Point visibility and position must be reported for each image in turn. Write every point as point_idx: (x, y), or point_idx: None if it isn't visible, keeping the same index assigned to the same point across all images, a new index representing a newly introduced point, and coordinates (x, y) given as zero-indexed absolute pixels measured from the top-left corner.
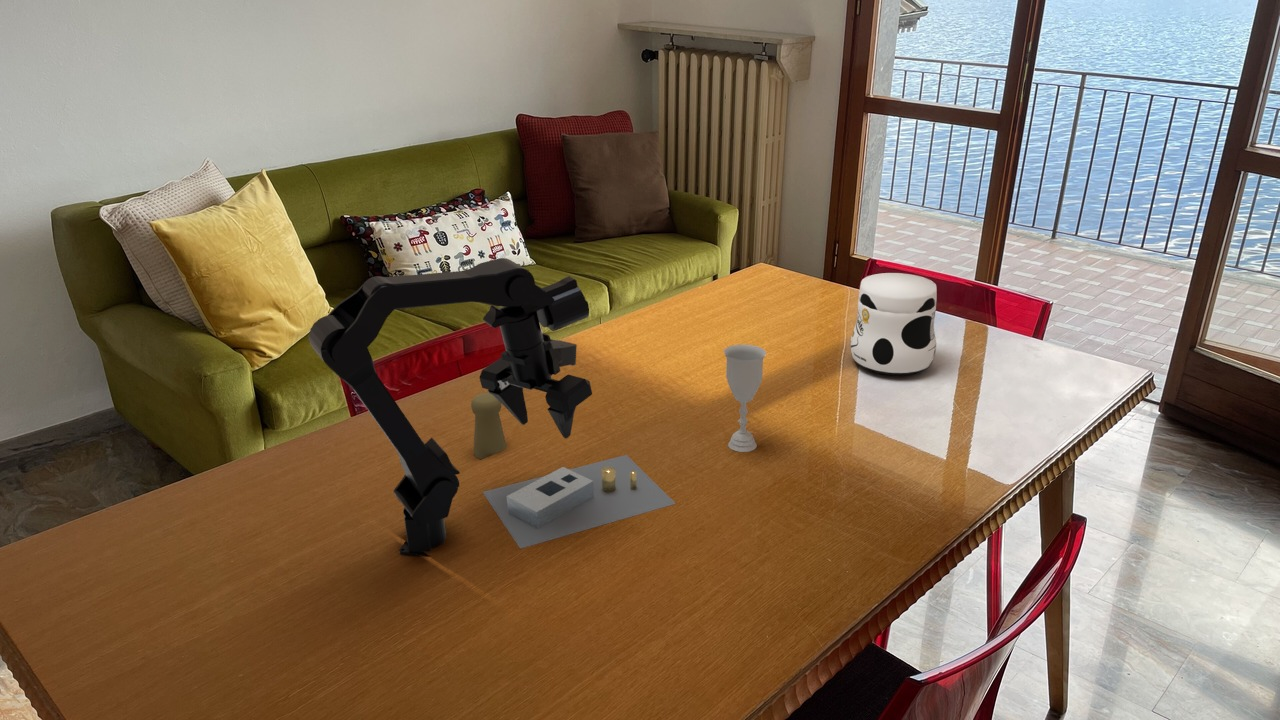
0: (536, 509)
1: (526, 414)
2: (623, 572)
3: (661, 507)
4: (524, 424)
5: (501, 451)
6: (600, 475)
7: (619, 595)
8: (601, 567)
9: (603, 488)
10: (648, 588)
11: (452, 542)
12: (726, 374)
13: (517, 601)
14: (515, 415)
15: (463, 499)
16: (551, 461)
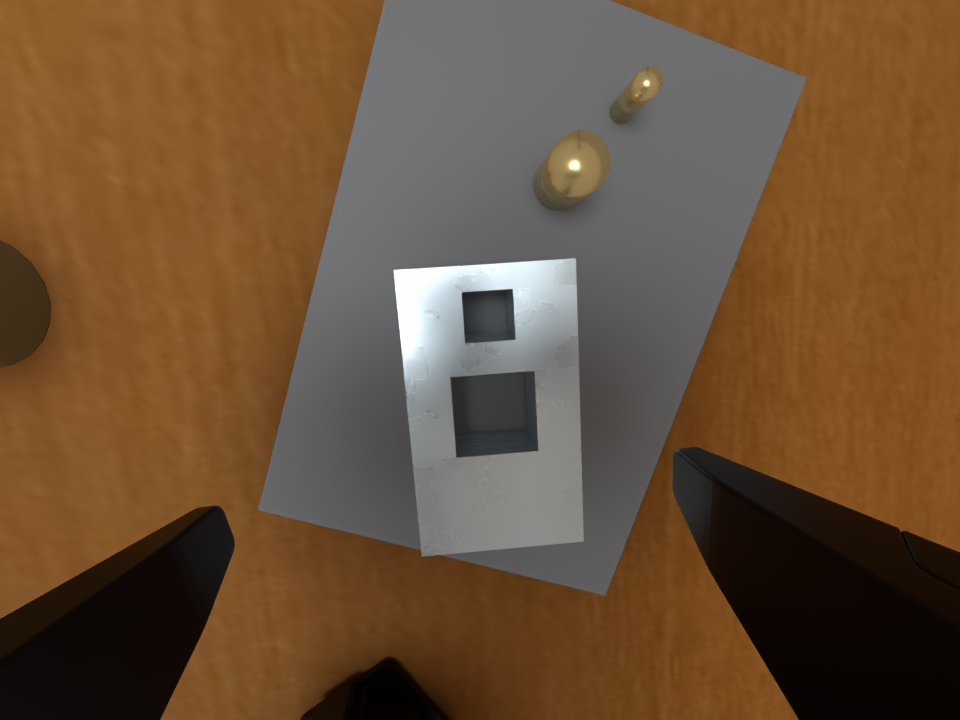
0: (570, 533)
1: (177, 550)
2: (864, 442)
3: (782, 136)
4: (232, 535)
5: (23, 292)
6: (459, 134)
7: (914, 509)
8: (805, 469)
9: (558, 207)
10: (956, 441)
11: (419, 676)
12: None
13: (738, 685)
14: (168, 688)
15: (235, 548)
16: (208, 177)
